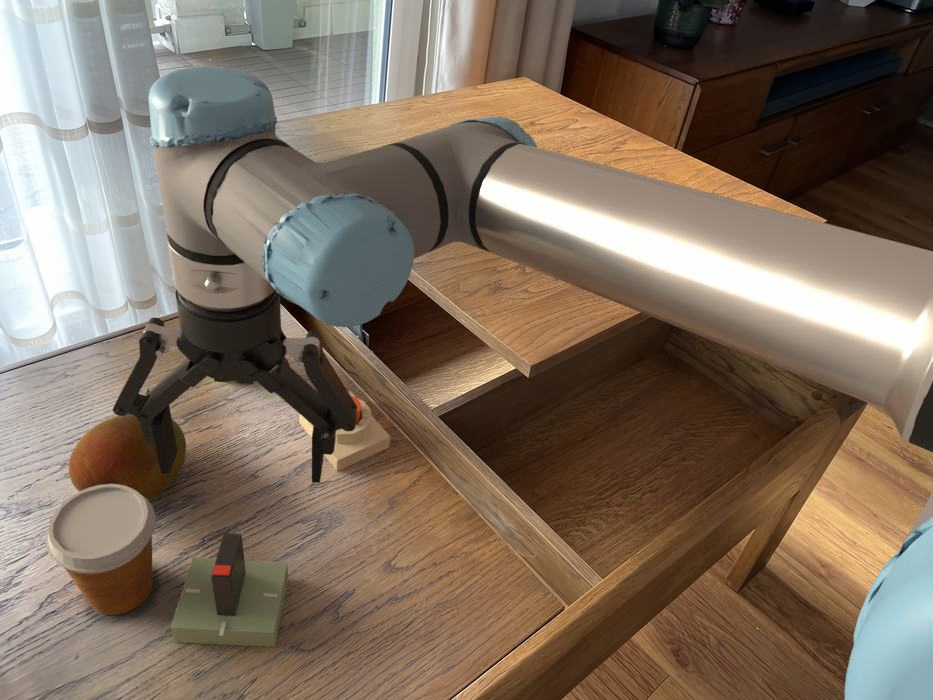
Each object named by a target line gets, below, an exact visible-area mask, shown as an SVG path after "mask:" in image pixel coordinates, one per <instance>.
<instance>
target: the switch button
mask: <svg viewBox="0 0 933 700" xmlns="http://www.w3.org/2000/svg"><path fill="white" fill-rule="evenodd" d="M351 397H352V399H353V400H354V402H355V404H356V405H357V414H356V423H355V424H357V423H358V421H359V420H360V410H361V404H360V402H359V400H360V399H359V398H357V397H356V398H357V399H356V398H355V397H353V396H351ZM358 399H359V400H358Z"/></svg>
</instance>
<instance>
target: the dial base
mask: <svg viewBox="0 0 933 700" xmlns="http://www.w3.org/2000/svg"><path fill="white" fill-rule="evenodd" d="M215 561H216V558H215V557H214V558H212V557H211V558H210V557H195V556H193V557H192V558H191V561H190V565H189V567H188V570H187V574H186V578H185V581H184V583H183V587H182V590H181V594H180V597H179V599H178V604H177V606H176V609H175V612H174V617H173V619H172V621H171V626H170V630H171V634H172V638H173V642H174V643H177V644H179V643H180V644H198V645H199V644H201V645H202V644H203V645H222V646H223V645H224V646H242V647H243V646H244V647H265V648H275V647H276V643H277V638H278V634H279V628H280V623H281V618H282V612H283V607H284V601H285V597H286V592H287V586H288V581H289V567H288V564H289V563H288V562H280V561H279V562H277V561H263V560H248V559H247V560H246V559H244V561H245V570H246V574H245V578H244V582H243V586H242V590H241V594H240V598H239V603H238V607H237V611H236V615H235V616H225V615H217V610H216V604H215V598H214V592H213V586H212V580H211V575H212V572H213V568H214V565H215Z"/></svg>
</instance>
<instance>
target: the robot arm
mask: <svg viewBox="0 0 933 700" xmlns="http://www.w3.org/2000/svg"><path fill="white" fill-rule="evenodd" d="M147 101H148V109H149V120H150V121H149V122H150V133H151V136H150V137H149V144H150V146H151V147H152V151H153V158H154V163H155V169H156V175H157V181H158V187H159V188H158V189H159V193H160V194H159V195H160V199H161V200H160V201H161V206H162V211H163V212H162V213H163V217H164V223H165V229H166V236H167V237H166V240H167V247H168V252H169V259H170V266H171V273H172V279H173V284H174V287H175V301H176V306H177V307H176V309H177V314H178V321H179V322H178V323H179V327H180V328H174V327H169V326H165V323H164V321H163V320H162V319H161V318H159V317H151V318H149V319H148V321H147V323H146V325H145V328H144V330H143V332H142V334H141V336H140V338H139V340H138V347H139V355H138V358H137V360H136V361H135V363H134V365H133V367H132V369H131V371H130V373H129V375H128V377H127V378H126V380H125V383H124V384H123V386H122V389H121V390H120V392H119V395H118V397H117V398H116V399H117V400H116V401H115V403H114V405H113V407H112V412H113V414H114V415H115V416H118V415H119V416H125V415H127V414H131V415H134V416H136V418H137V420H139V421H140V425H141V429H142V434H143V438H144V440H145V441H146V443H154V444H155V447H156V451H157V456H158V461H159V466H160V471H161V473H162V474H170V471H171V469H172V466H173V463H174V460H175V457H176V454H177V446H176V440H175V435H174V429H173V424H172V420H173V417H172V413H171V407H170V405H171V404H172V403H174V402H175V401H176V400H177V399H179V398H180V396H182V395H183V394H185V392H187V391H188V390H189V389H190V388H191V387H192V388H195V387H196V386H198V384H199V383H201V382H202V381H203V380H205V378H207V377H209V378H211V379H213V382H216V383H228V382H229V383H231V382H230V381H235V382H234V383H238V384H244V385H254V382H256V383H258V384H259V385H260V386H261V387H262V388H263V389H265V390H266V392H268V393H270V394H273V393H275V394H276V395H277V396H279V397H280V398H281V399H282V400H283V401H284V402H286V403H287V405H289V406H290V407H291V408H292V409H294V410H295V412H297V413H298V415H299V414H301V415H302V416H303V417H304V418H305V419H306V420H307V421H309V422H310V423H311V424H312V425H313V426H314V427H313V433H312V438H311V483H312V484H320V483H321V478H322V472H323V465H324V454H328V455H332V453H333V452H334V447H335V440H336V431H337V430H339V429H343V430H345V431H353V430H354V429H355V423H356V414H357V405H356V404H355V402H354V400H353V399H352V397H351V396H350V394H349V391H348V390H347V387H346V386H345V385H344V383H343V381H342V379H341V378H340V376H339V375H338V373H337V371H336V369H334V367H333V365H332V364H331V362H330V360H329V359H328V357H327V355H326V354H325V352H324V349H323V347H324V346H323V340H322V335H321V333H320V332H319V331H317V330H310V331H307V333H306V336H305V337H287V335H285V333H284V331H283V329H282V316H281V315H282V313H281V296H282V297H283V298H284V299H285V300H287V301H288V302H290V303H293V304H295V305H298V306H299V307H300V308H302V309H303V310H305V311H306V312H308V313H309V314H310V315H312V316H313V317H314V318H316V319H317V320H319V321H320V322H322V323H324V324H326V325H329V326H331V327H336V328H337V327H338V328H351V327H352V328H353V327H357V326H361V325H363V324H366V323H368V322H370V321H372V320H374V319H375V318H377V317H378V316H380V315H381V313H382V311H383V309H384V307H385V305H387V304H388V302H395V301H396V299H397V298H398V297H399V296H400V294H401V293H402V291H403V290H404V288H405V286H406V284H407V283H408V281H409V278H410V275H411V272H412V269H413V266H414V260H415V259H417V258H419V257H421V256H424V255H426V254H429V253H431V252H433V251H435V250H438V249H441V248H443V247H445V246H448V245H450V244H452V243H464V244H466V245H469V246H472V247H474V248H477V249H478V250H482V251H486V252H488V253H491V254H494V255H496V256H498V257H500V258H503V259H506V260H508V261H511V262H513V263H516V264H519V265H520V266H524V267H526V268H529V269H531V270H533V271H535V272H538V273H541V274H542V275H543V274H544V275H545V276H548V277H551V278H554V279H555V280H558V281H561V282H564V283H566V284H569V285H571V286H574V287H576V288H579V289H582V290H584V291H587V292H588V293H592V294H594V295H596V296H599V297H601V298H603V299H606V300H609V301H612V302H614V303H616V304H619V305H621V306H624V307H626V308H629V309H632V310H634V311H637V312H639V313H642V314H644V315H647V316H649V317H651V318H653V319H657V320H659V321H661V322H664V323H666V324H669V325H672V326H674V327H676V328H679V329H682V330H685V331H687V332H689V333H692V334H695V335H697V336H699V337H702V338H704V339H707V340H709V341H712V342H714V343H718V344H720V345H722V346H724V347H727V348H730V349H732V350H734V351H737V352H738V353H742V354H744V355H747V356H750V357H752V358H755V359H757V360H760V361H762V362H765V363H768V364H769V365H772V366H775V367H776V368H777V367H778V368H780V369H782V370H785V371H787V372H789V373H792V374H795V375H797V376H799V377H802V378H804V379H805V378H806V379H807V380H810V381H813V382H815V383H817V384H820V385H822V386H825V387H828V388H830V389H833V390H835V391H838V392H840V393H842V394H844V395H847V396H850V397H852V398H855V399H857V400H860V401H862V402H864V403H865V402H866V403H868V404H870V405H872V406H876V407H878V408H880V409H882V410H883V411H885V412H886V413H888V414H889V415H890V417H891V420H892V422H893V424H894V426H895V428H896V430H897V432H898V434H899V436H900V438H901V440H902V441H904V442H906V443H908V444H911V445H914V446H916V447H918V448H921V449H923V450H926V451H928V452H931V453H933V251H932V250H928V249H925V248H921V247H918V246H914V245H909V244H906V243H902V242H898V241H894V240H890V239H888V238H887V239H886V238H883V237H879V236H876V235H871V234H867V233H864V232H859V231H858V230H857V231H856V230H852V229H848V228H845V227H841V226H838V225H834V224H829V223H826V222H822V221H820V220H819V221H818V220H815V219H810V218H807V217H803V216H799V215H795V214H791V213H788V212H785V211H782V210H781V211H780V210H776V209H772V208H769V207H766V206H761V205H758V204H753V203H751V202H747V201H743V200H739V199H735V198H731V197H727V196H724V195H719V194H716V193H715V194H714V193H712V192H708V191H703V190H700V189H696V188H693V187H689V186H687V185H686V186H685V185H683V184H677V183H674V182H670V181H667V180H663V179H659V178H655V177H651V176H647V175H643V174H640V173H636V172H632V171H629V170H625V169H620V168H618V167H617V168H616V167H613V166H611V165H610V166H609V165H605V164H602V163H598V162H594V161H590V160H587V159H583V158H579V157H575V156H573V155H572V156H571V155H568V154H564V153H561V152H556V151H552V150H550V149H549V150H548V149H545V148H540V147H538V146H537V143H536V142H535V140H534V139H533V137H532V136H531V134H529V133H528V132H526V131H525V130H524V129H523V128H522V127H521V126H520V125H521V124H519V123H518V122H516V121H514V120H513V119H510V118H507V117H502V116H488V117H481V118H466V119H463V120H460V121H457V122H454V123H451V124H450V125H448V126H445V127H442V128H438V129H435V130H432V131H431V130H430V131H427V132H425V133H421V134H419V135H414V136H412V137H409V138H406V139H402V140H399V141H396V142H392V143H389V144H384V145H382V146H379V147H376V148H372V149H368V150H364V151H362V152H358V153H354V154H350V155H347V156H343V157H340V158H337V159H332V160H330V161H327V162H316V161H314V160H313V159H311V158H310V157H308V156H306V155H305V154H303V153H302V152H301V151H299V150H297V149H295V148H294V147H292V146H291V145H289V144H288V143H287V142H285V141H284V140H282V139H281V138H280V137H278V136H277V134H276V127H277V126H276V125H277V124H278V117H277V115H276V111H275V105H274V99H273V95H272V92H271V91H270V89H269V87H268V85H267V84H266V83H265V82H264V81H263V80H261V79H260V78H258V77H257V76H255V75H253V74H250V73H248V72H246V71H243V70H239V69H235V68H229V67H221V66H208V65H205V66H191V67H186V68H180V69H175V70H173V71H170V72H168V73H166V74H163V75H162V76H160V77H159V78H158V79H157V80H155V82H154V83H153V84H152V85H151V87H150V89H149V92H148V100H147ZM172 347H177V350H179V351H180V353H181V354H182V355H184V356H185V357H186V359H184V360H183V361H182V362H181V363H180V364H179V365H178V366H176V367H175V368H174V369H173V370H172V371H171V372H170V373H168V374H167V375H166V376H165V377H164V378H163V379H162V380H160V381H159V382H158V383H156V385H155V386H154V387H152V388H151V389H150V388H147V390H146V392H145V394H141V393H140V392H141V390H142V388H143V387H144V384H145V382H146V380H147V379H148V377H149V375H150V373H151V371H152V370H153V369H154V366H155V364H156V361H157V359H158V357H162V356H163V355H164V354H167V353H168V352H169V351H170V349H171V348H172ZM286 355H288V356H292V357H293V358H294V360H295V361H296V362H297V366H298V367H299V368H304V372H305V374H306V376H307V378H308V379H309V381H310V382H311V384H312V385H311V384H309V382H307V380H305V379H304V378H303V377H302V376H301V375H300V374H299V373H298V372H297V371H295V370H294V369H293V368H292V366H291V365H290V362H289V360H288V359H287V358H286ZM879 571H880V572H879V573H878V574H877V576H876V577H875V579H874V581H873V583H872V584H871V586H870V589H869V591H868V593H867V595H866V597H865V599H864V602H863V605H862V607H861V610H860V612H859V615H858V617H857V620H856V624H855V628H854V632H853V646H852V650H851V653H850V656H849V661H848V665H847V670H846V673H845V682H844V700H933V491H932V492H931V494H930V496H929V497H928V499H927V500H926V503H925V505H924V506H923V508H922V510H921V512H920V513H919V514H918V517H917V518H916V520H915V522H914V524H913V526H912V527H911V529H910V531H909V532H908V534H907V536H906V537H905V540H904V541H903V543H902V545H901V546H900V548H899V549H898V551H897V552H896V553H895V554H894V555H893V556H892V557H891V558H890V559H889V560H887V561H886V563H885V564H884V566H883V567H881V569H880V570H879Z"/></svg>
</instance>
